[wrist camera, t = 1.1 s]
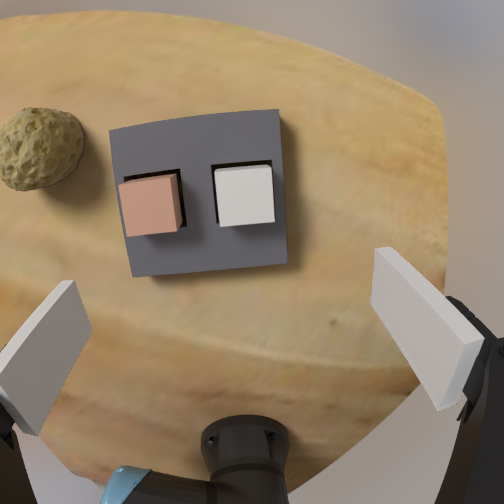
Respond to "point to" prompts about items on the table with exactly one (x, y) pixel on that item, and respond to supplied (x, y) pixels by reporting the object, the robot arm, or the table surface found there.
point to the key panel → (203, 190)
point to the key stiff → (151, 205)
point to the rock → (39, 148)
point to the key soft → (244, 195)
